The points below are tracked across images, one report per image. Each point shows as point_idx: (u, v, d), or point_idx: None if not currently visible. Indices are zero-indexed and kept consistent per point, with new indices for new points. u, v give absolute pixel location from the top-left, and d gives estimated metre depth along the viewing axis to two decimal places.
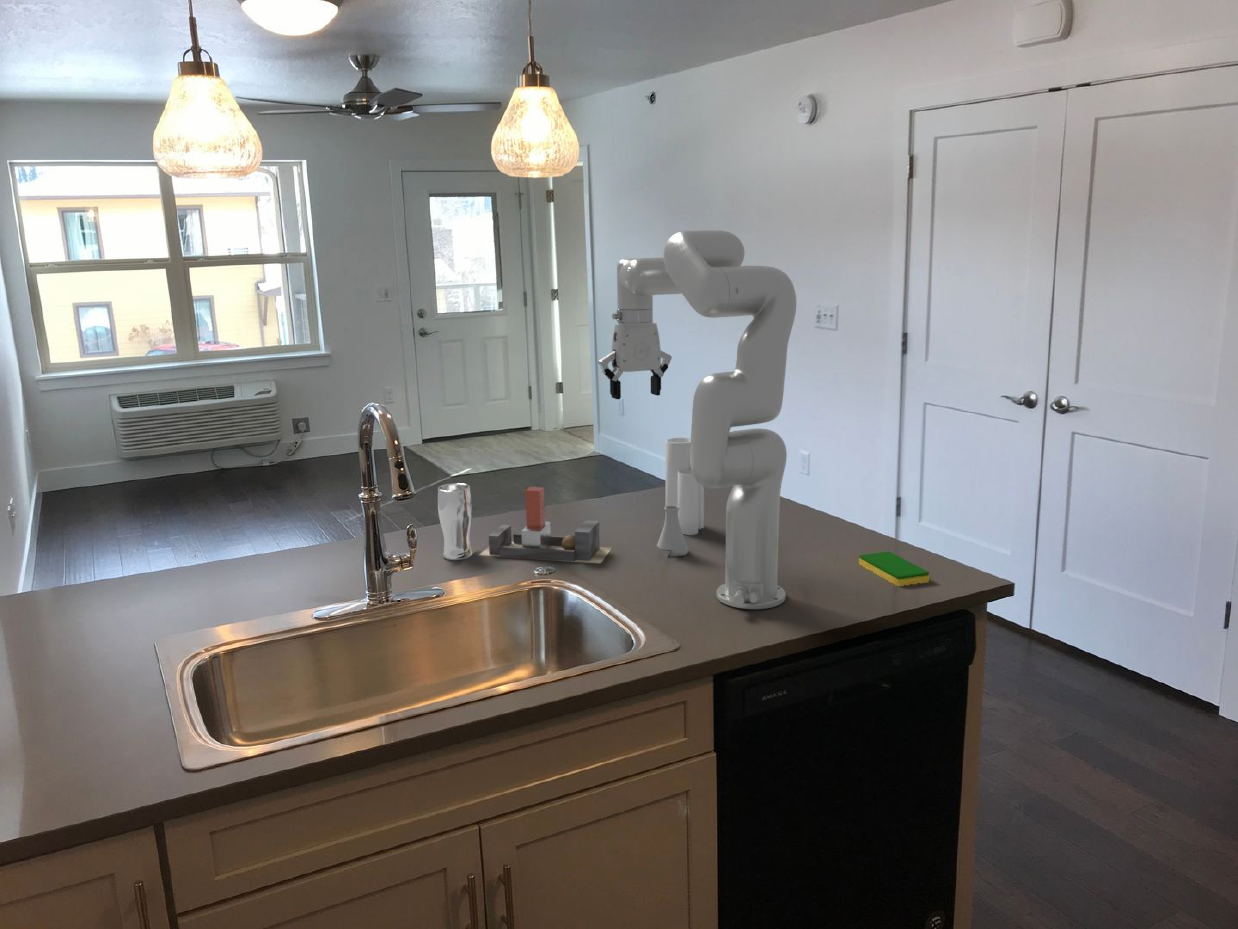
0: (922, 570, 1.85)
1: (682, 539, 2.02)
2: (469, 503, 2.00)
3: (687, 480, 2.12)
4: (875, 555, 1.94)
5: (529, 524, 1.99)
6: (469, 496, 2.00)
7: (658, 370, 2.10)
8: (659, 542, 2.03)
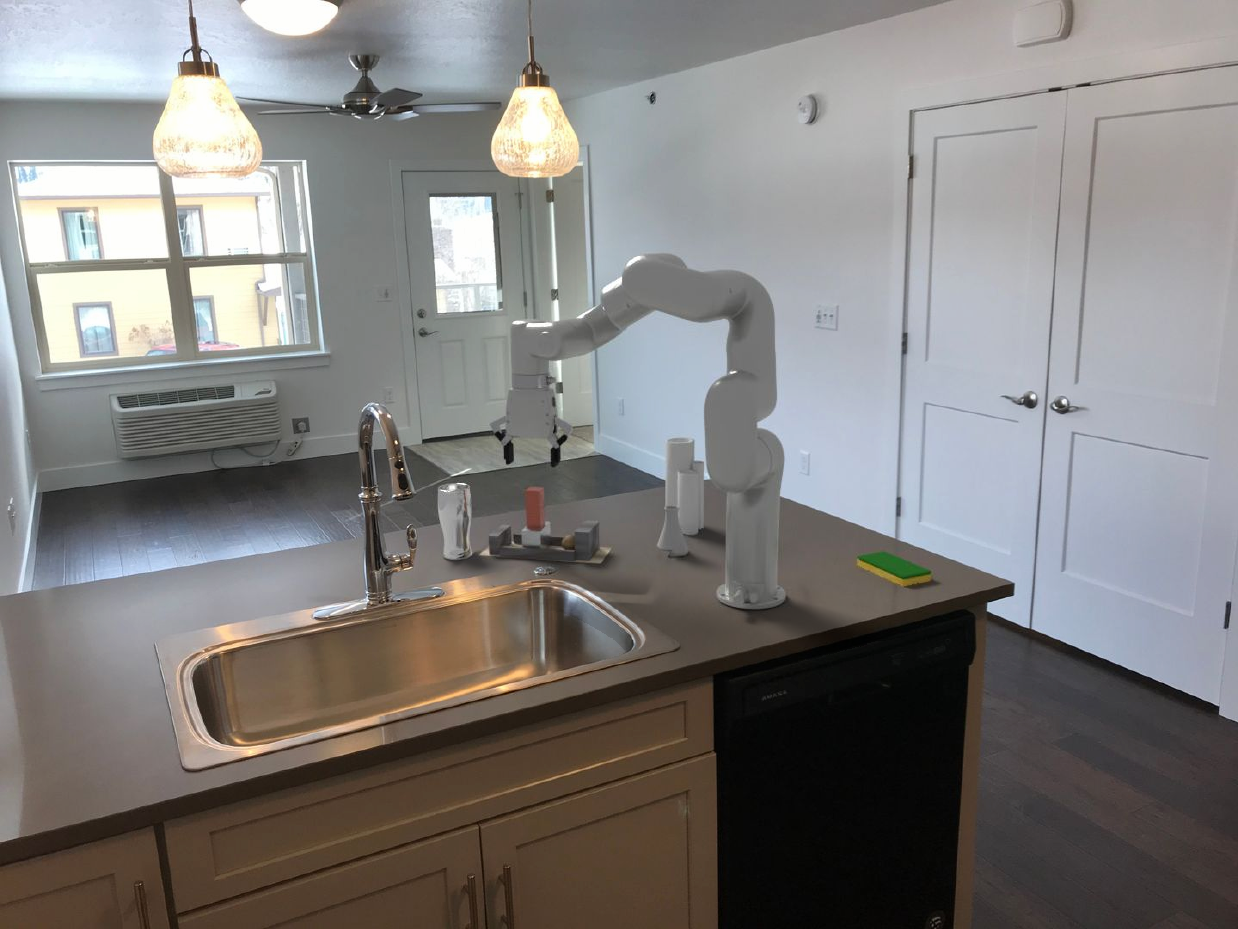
0: (924, 569, 1.86)
1: (682, 539, 2.02)
2: (469, 503, 2.00)
3: (687, 480, 2.12)
4: (873, 556, 1.94)
5: (529, 524, 1.99)
6: (469, 496, 2.00)
7: None
8: (659, 542, 2.03)
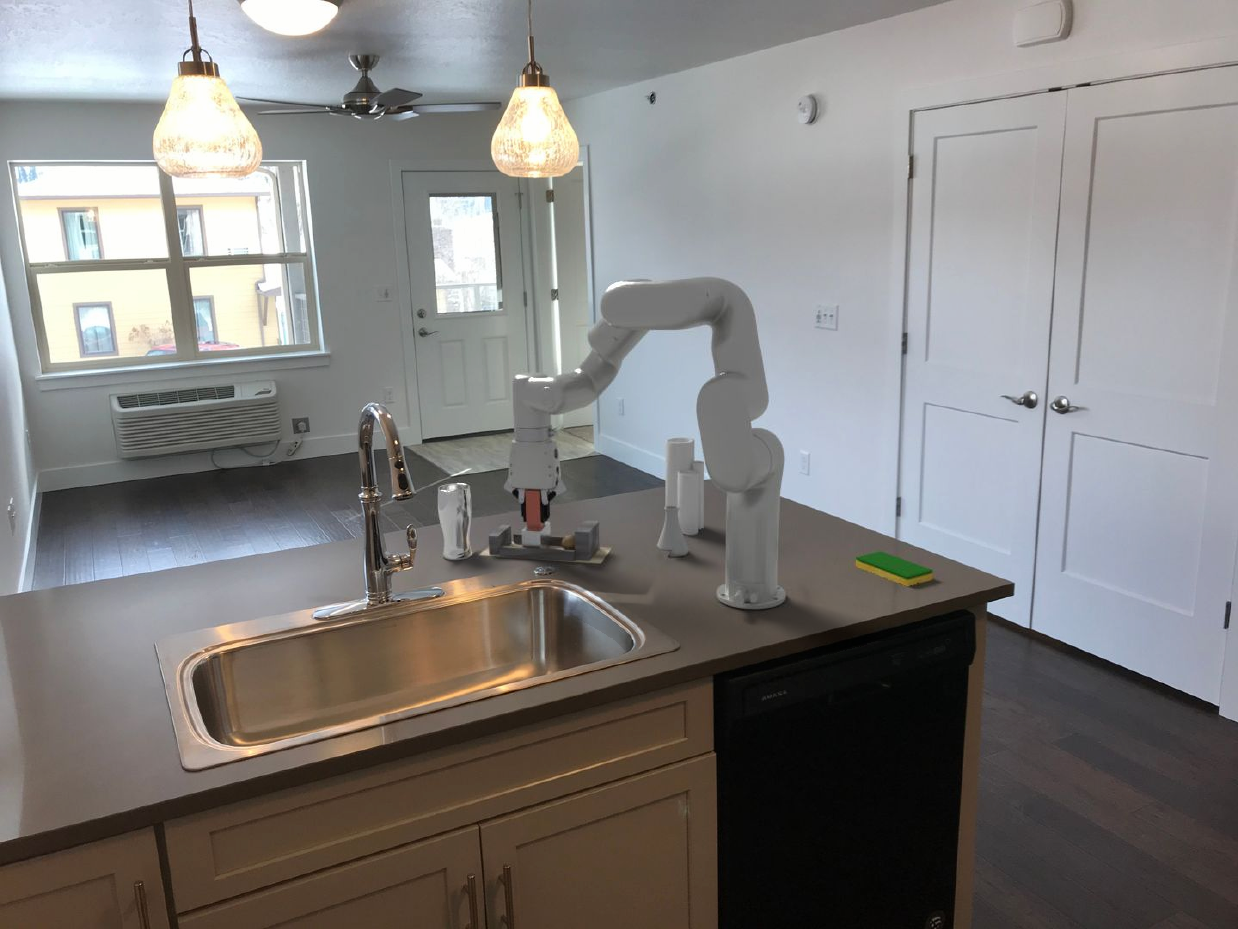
0: (925, 568, 1.86)
1: (682, 539, 2.02)
2: (469, 503, 2.00)
3: (687, 480, 2.12)
4: (871, 556, 1.93)
5: (529, 524, 1.99)
6: (469, 496, 2.00)
7: None
8: (659, 542, 2.03)
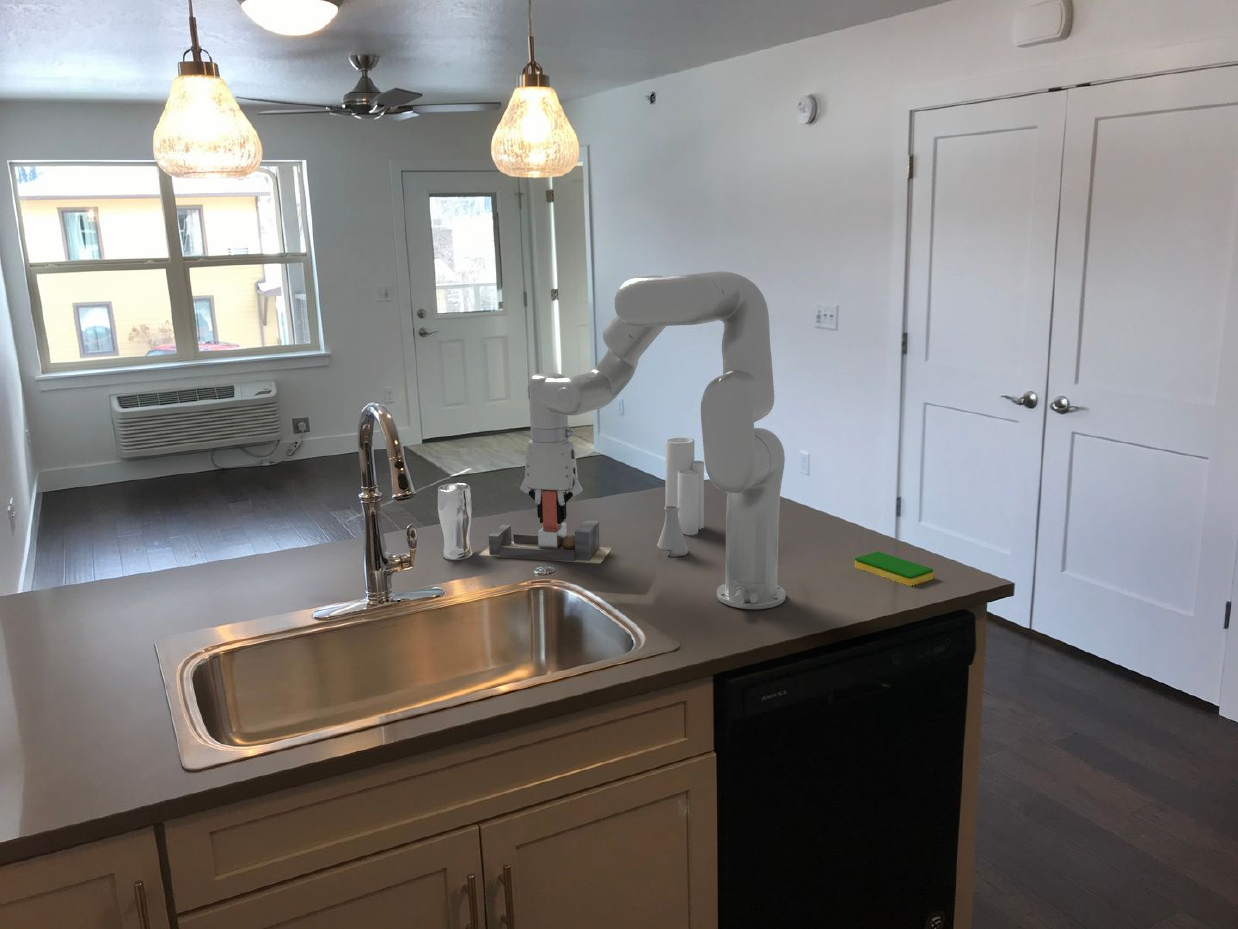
0: (926, 567, 1.87)
1: (682, 539, 2.02)
2: (469, 503, 2.00)
3: (687, 480, 2.12)
4: (870, 557, 1.93)
5: (545, 525, 1.98)
6: (469, 496, 2.00)
7: None
8: (659, 542, 2.03)
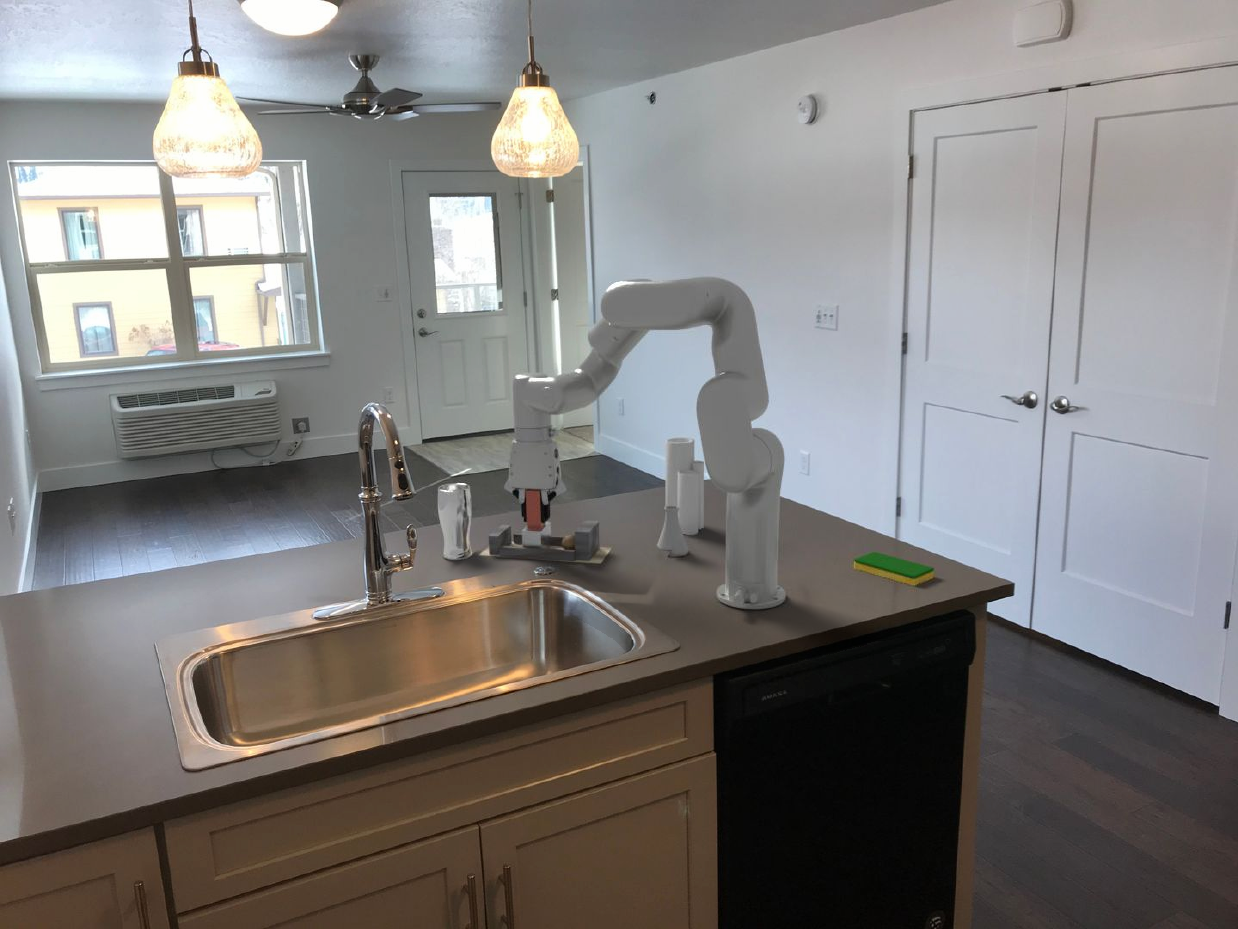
0: (926, 566, 1.87)
1: (682, 539, 2.02)
2: (469, 503, 2.00)
3: (687, 480, 2.12)
4: (869, 557, 1.93)
5: (529, 524, 1.99)
6: (469, 496, 2.00)
7: None
8: (659, 542, 2.03)
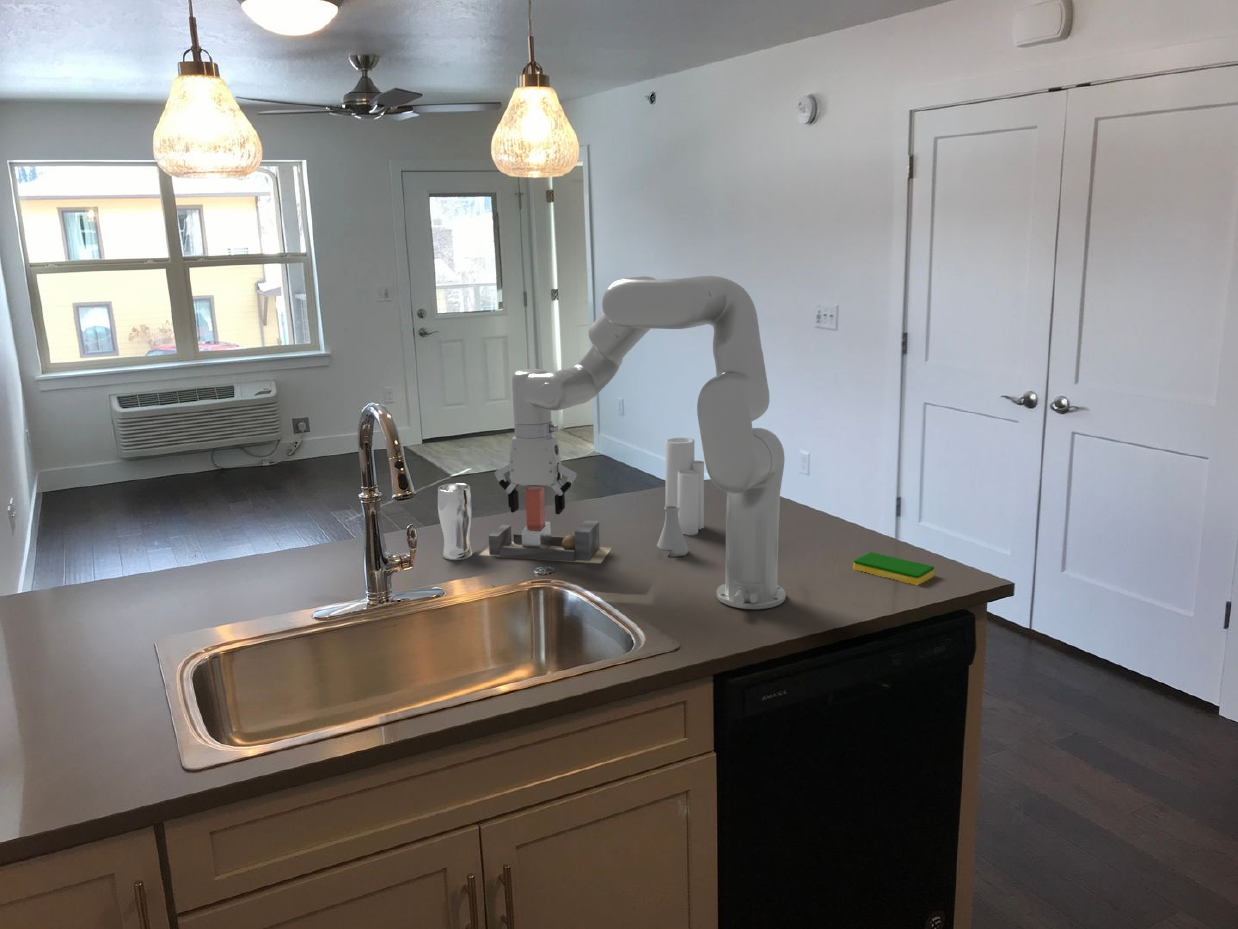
0: (926, 565, 1.88)
1: (682, 539, 2.02)
2: (469, 503, 2.00)
3: (687, 480, 2.12)
4: (868, 558, 1.92)
5: (529, 524, 1.99)
6: (469, 496, 2.00)
7: None
8: (659, 542, 2.03)
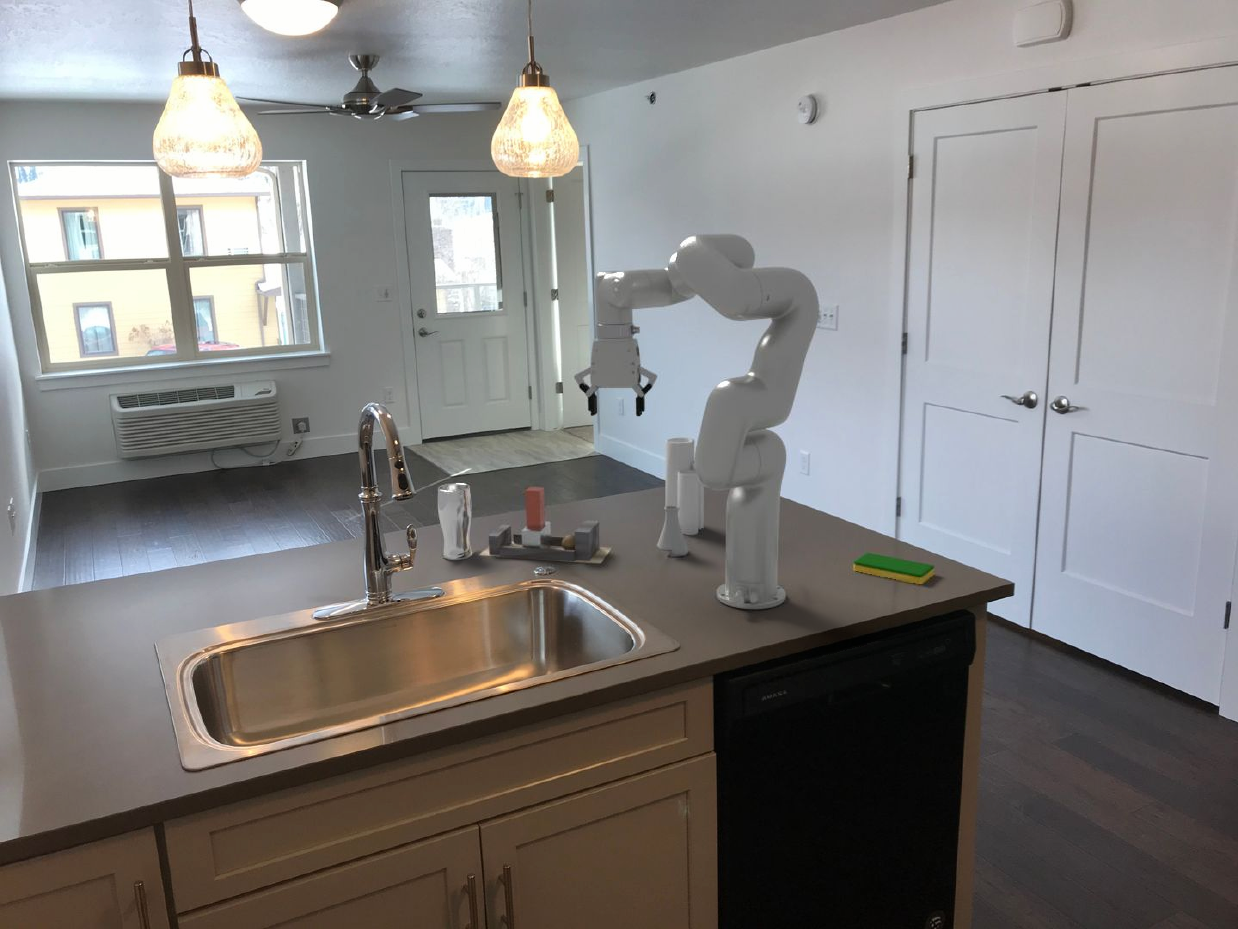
0: (926, 564, 1.88)
1: (682, 539, 2.02)
2: (469, 503, 2.00)
3: (687, 480, 2.12)
4: (867, 559, 1.92)
5: (529, 524, 1.99)
6: (469, 496, 2.00)
7: None
8: (659, 542, 2.03)
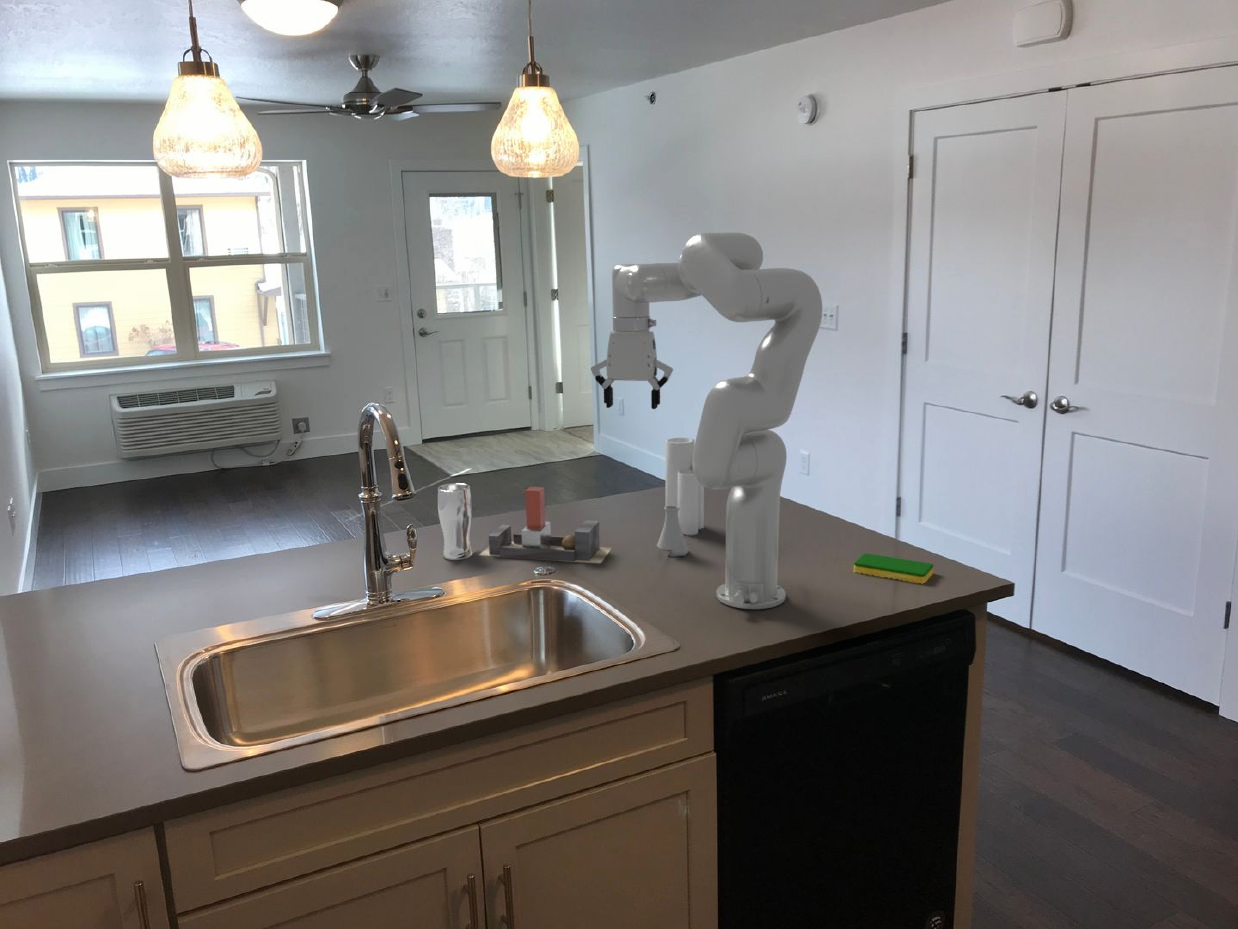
0: (926, 563, 1.89)
1: (682, 539, 2.02)
2: (469, 503, 2.00)
3: (687, 480, 2.12)
4: (867, 560, 1.92)
5: (529, 524, 1.99)
6: (469, 496, 2.00)
7: None
8: (659, 542, 2.03)
